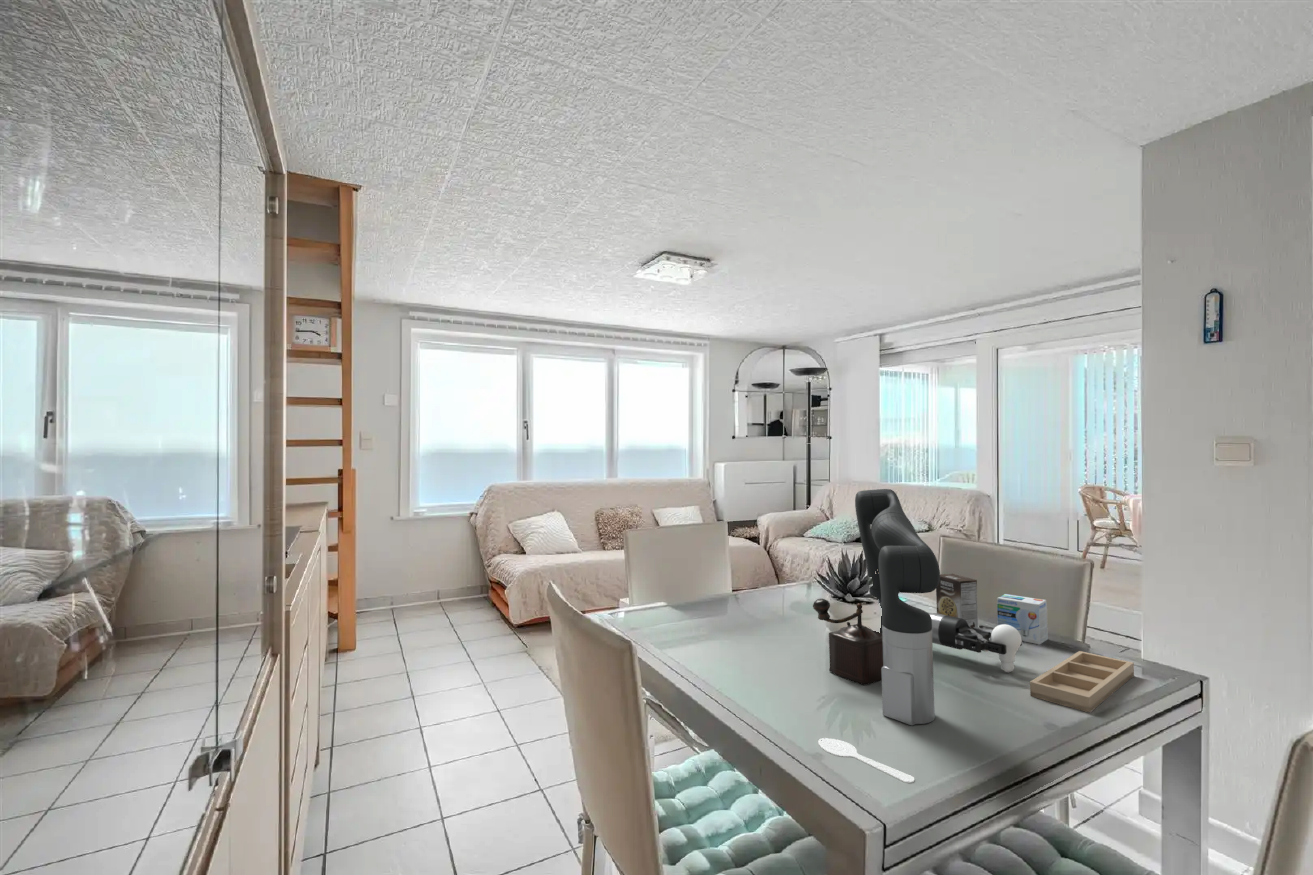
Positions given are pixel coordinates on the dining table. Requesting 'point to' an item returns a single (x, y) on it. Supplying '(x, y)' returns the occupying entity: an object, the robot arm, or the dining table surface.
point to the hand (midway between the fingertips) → (1013, 645)
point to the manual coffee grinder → (853, 647)
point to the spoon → (860, 757)
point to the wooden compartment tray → (1082, 680)
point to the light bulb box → (1024, 616)
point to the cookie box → (958, 598)
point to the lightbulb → (1007, 644)
